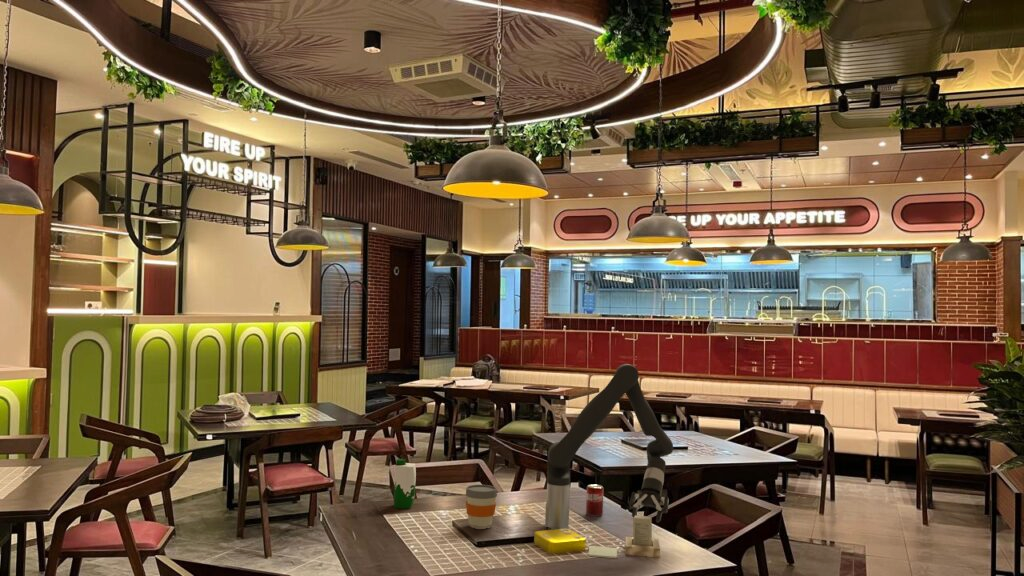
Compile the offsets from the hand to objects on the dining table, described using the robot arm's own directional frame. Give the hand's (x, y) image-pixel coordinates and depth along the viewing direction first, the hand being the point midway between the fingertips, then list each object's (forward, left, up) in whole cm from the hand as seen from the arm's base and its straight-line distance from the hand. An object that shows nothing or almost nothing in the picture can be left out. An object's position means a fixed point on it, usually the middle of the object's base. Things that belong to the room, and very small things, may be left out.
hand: (645, 519), depth 262 cm
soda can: (-20, +43, -10) cm, 49 cm away
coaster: (-15, -10, -10) cm, 21 cm away
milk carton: (-102, +32, -10) cm, 108 cm away
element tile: (-31, -6, -11) cm, 33 cm away
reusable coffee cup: (-64, +11, -10) cm, 66 cm away
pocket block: (-1, -4, -10) cm, 11 cm away
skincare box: (-1, -4, -10) cm, 11 cm away
